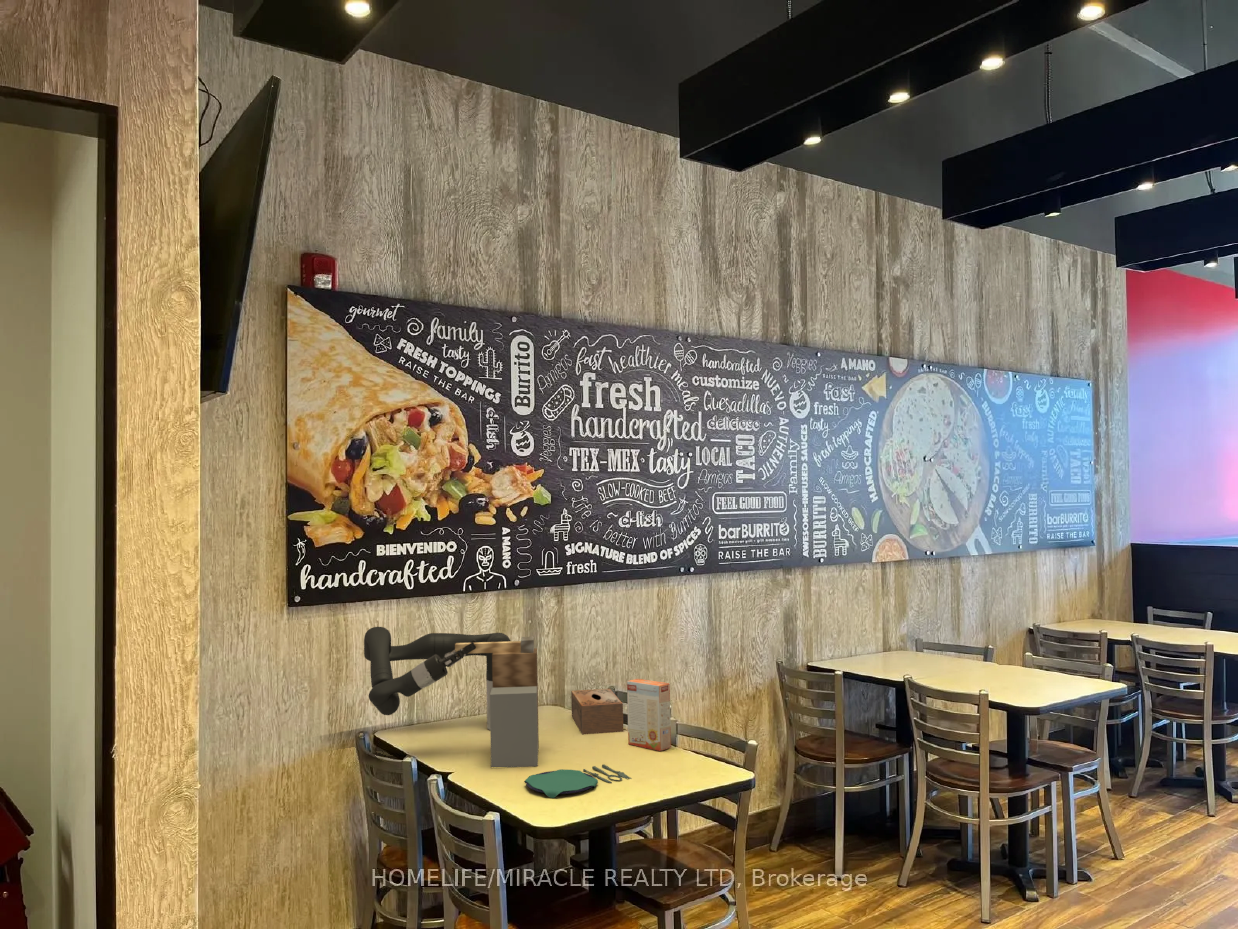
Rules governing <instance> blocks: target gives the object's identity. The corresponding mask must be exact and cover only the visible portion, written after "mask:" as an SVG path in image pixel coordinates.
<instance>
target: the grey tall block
mask: <svg viewBox="0 0 1238 929" xmlns="http://www.w3.org/2000/svg"><path fill="white" fill-rule="evenodd" d="M489 732H490V768H491V767H507V768H526V767H527V768H529V767H530V768H531V767H538V766H539V765H538V764H539V763H538V762H539V750H538V734H539V719H538V720H537V686H531V687H501V688H492V690H491V693H490V730H489Z"/></svg>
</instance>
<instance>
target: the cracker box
mask: <svg viewBox="0 0 1238 929" xmlns="http://www.w3.org/2000/svg"><path fill="white" fill-rule="evenodd" d="M626 683H627V684H626V688H627V696H626V697H627V699H626V700H627V739H628V740H627V744H628V745H629V746H633V747H640V748H643V749H648V750H653V751H657V752H662V751H664V750H667V749H672V734H671V733H672V726H671V722H672V720H671V685H670V684H671V683H668V682H664V681H655V680H648V679H643V678H635V679H631V680H627V681H626Z"/></svg>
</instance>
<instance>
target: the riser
mask: <svg viewBox="0 0 1238 929" xmlns="http://www.w3.org/2000/svg"><path fill="white" fill-rule="evenodd" d="M538 672H539V671H538V648H537V647H534V653H521V652H503V653H493V654H492V676H493V688H501V687H531V686H537V720H538V721H539V685H538V684H539V680H538V679H539V678H538V677H539V675H538ZM539 735H540V734H539V733H538V749H539V747H540V746H539V742H540V741H539V737H540V736H539ZM539 750H540V749H539Z"/></svg>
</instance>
